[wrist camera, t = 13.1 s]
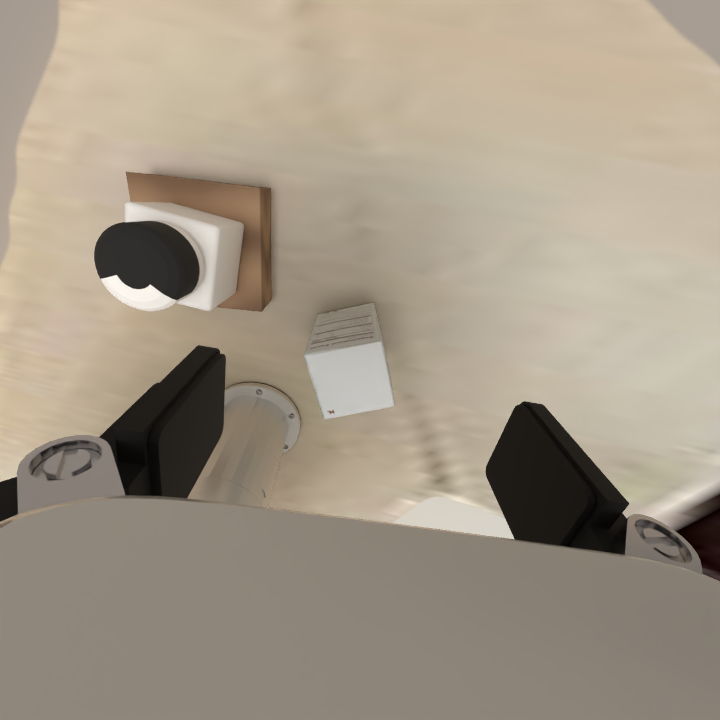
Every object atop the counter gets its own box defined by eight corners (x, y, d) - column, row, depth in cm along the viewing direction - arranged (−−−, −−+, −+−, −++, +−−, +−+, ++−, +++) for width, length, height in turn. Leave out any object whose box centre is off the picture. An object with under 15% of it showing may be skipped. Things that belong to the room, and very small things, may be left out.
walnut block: (272, 298, 41) (261, 311, 37) (170, 288, 41) (147, 300, 36) (271, 188, 36) (259, 187, 32) (154, 174, 36) (125, 171, 31)
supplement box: (385, 354, 44) (396, 409, 33) (329, 364, 45) (321, 422, 34) (375, 299, 41) (383, 340, 30) (315, 311, 42) (301, 355, 30)
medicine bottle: (169, 201, 32) (74, 198, 21) (245, 223, 33) (192, 231, 22) (165, 275, 35) (80, 307, 24) (236, 293, 36) (185, 332, 25)
